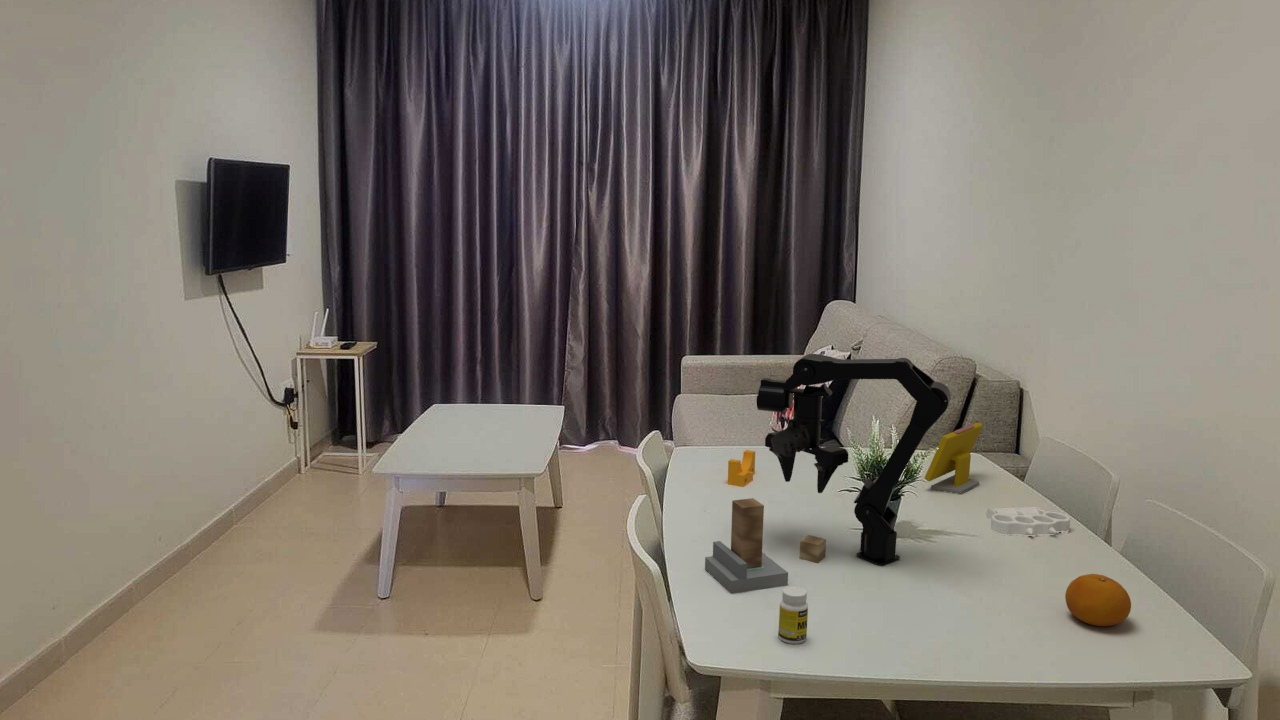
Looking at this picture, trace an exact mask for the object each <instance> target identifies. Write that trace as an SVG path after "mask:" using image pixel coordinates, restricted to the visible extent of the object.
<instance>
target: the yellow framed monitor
mask: <svg viewBox="0 0 1280 720" xmlns="http://www.w3.org/2000/svg"><path fill="white" fill-rule="evenodd" d="M983 427H984V426H983V424H982V423H980V422H976V423H973V424H969V425H966V426H965V427H961V428H959V429H955V430H954V431H952V432H949V433H947V434H944V435H942V436H941V439H940V441H939V444H938V446H937V448H939V449H938V450H937V449H936V450H937V451H935V453H934V455H933V457H932V460H931V462H930V464H929V467H928V469H927V471H926V472H925V473H926V474H925V475H924V480H926V481H927V482H932V481H933V480H936V479H938V478H941V477H942V476H945V475H947V474H949V473H952V472H954V471H955V472H954V475H951V476H949V477H946V478H944V479H943V480H940V481H938V482H936V483H934V484H932V485H931V487H930V489H931V490H933V489H935V490H934V491H938V490H940V491H939V492H944V491H946V492H945V493H950V492H952V493H951V494H955V493H958V494H957V495H962V494H964V493H966V492H968V491H970V489H971V490H973V489H974V487H975V488H977V487H978V485H979V486H980V481H979V480H975V479H974V478H973V479H972V478H970V470H971V456H972V455H971V454H972V453H971V452H972V450H973V448H974V446H975V444H976V443H977V442H976V441H977V440H978V437H979V435H980V433H981V431H982V429H983ZM976 486H977V487H976ZM972 488H973V489H972Z"/></svg>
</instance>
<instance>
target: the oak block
mask: <svg viewBox="0 0 1280 720" xmlns="http://www.w3.org/2000/svg"><path fill="white" fill-rule="evenodd" d="M799 541H800V542H799V560H803V561H807V562H811V563H816V564H819V563H820V562H822V560H823V559H825V558H826V552H827V545H826V544H827V538H823V537H819V536H814V535H809V534H807V535H806V536H805V537H803V538H802V539H801V540H799Z"/></svg>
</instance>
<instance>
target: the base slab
mask: <svg viewBox="0 0 1280 720" xmlns="http://www.w3.org/2000/svg"><path fill="white" fill-rule="evenodd" d="M704 560H705V561H704V570H705V571H707V573H709V574H710V575H711V576H712V577H713V578H714V579H715V580H716V581H718V583H719V584H720V585H721V586H722V587H723V588H725V589H726V590H727V591H728V592H729V593H730V594H737V593H742V592H748V591H749V592H750V591H756V590H763V589H770V588H775V587H783V586H788V585H789V572H788V571H787V570H786V569H784V568H783V567H782V566H780V565H779V564H778V563H777V562H775V561H774V560H773V559H772V558H770V557H769V556H768V555H766V554H765V553H764V552H763V551H762V567H758V568H751V569H747V563H746V562H745V561H743V560H742V559H741V558H740V557H739V556H737V555H736V554H735V553H734V552H733V551H731V548H729V547H728V546H727V545H726V544H724V543H723V542H722V541H721V540H718V541H713V542H712V556H711V555H710V556H705V557H704Z"/></svg>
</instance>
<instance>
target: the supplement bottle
mask: <svg viewBox="0 0 1280 720" xmlns="http://www.w3.org/2000/svg"><path fill="white" fill-rule="evenodd" d="M807 594H808V592H807V591H806V590H805V589H804V588H802V587H799V586H787V587H784V588H783V589H782V595H781V598H782V599H781V600H780V602H779V615H778V616H779V617H778V633H777V634H778V635H777V636H778V638H779V640H781V641H782V642H785V643H787V644H794V645H795V644H796V645H797V644H802V643H804V642H805V641H806V640H807V636H808V635H807V634H808V633H807V632H808V615H809V605H808V602H807V598H808V597H807V596H808V595H807Z"/></svg>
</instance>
